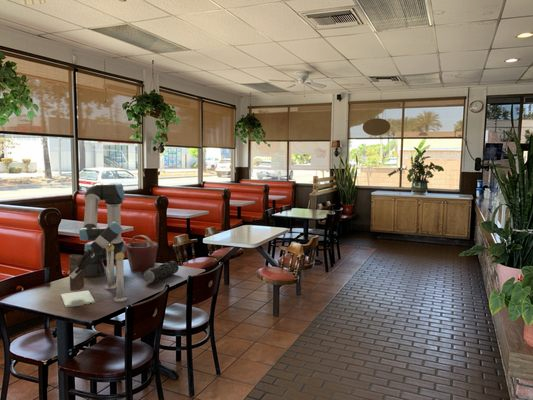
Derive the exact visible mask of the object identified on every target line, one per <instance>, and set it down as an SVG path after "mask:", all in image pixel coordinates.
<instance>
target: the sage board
mask: <svg viewBox="0 0 533 400" xmlns="http://www.w3.org/2000/svg"><path fill="white" fill-rule="evenodd" d="M60 297H61V300H62V303H63V305H64V308H72V307H77V306H84V304H86V305H91V304H90V303H92V304H96V300H95V299H94V298H93V297H94V296H92V294H91V292H90V291H89V290H83V291H82V290H79V291H72V292H67V293H61V294H60Z"/></svg>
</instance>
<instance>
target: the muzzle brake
mask: <svg viewBox="0 0 533 400" xmlns="http://www.w3.org/2000/svg"><path fill="white" fill-rule="evenodd" d="M178 271H179V264H178V262H176V261H175V260H170V261H168V262H164V263H162V264H160V265H157V266H154V268H150V269H148V270H146V271H145V272H143V274H142V275H143V281H144V282H145V283H147V284H156V283H158V282H159V281H160V280H163V279H166V278H170V277H171V276H174V275H175V274H176V273H177V272H178Z"/></svg>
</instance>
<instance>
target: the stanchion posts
mask: <svg viewBox="0 0 533 400" xmlns="http://www.w3.org/2000/svg"><path fill="white" fill-rule="evenodd" d="M106 251H107V259H106V277H107V279H106V281H107V284H105V285H104V289H105V290H108V291H111V290H112V291H113V290H116V296H114V298H113V301H114V303H123V302H126V301H127V300H128V297H127V295H125V281H124V279H125V278H124V276H125V275H124V274H125V273H124V272H125V270H124V259H125V254H123V253H122V252H118V253H116V255H115V260H114V246H113V245H112V244H109V246H107V247H106ZM114 263H115V264H114ZM115 271H116V273H115ZM115 274H116V275H115ZM115 278H116V280H115ZM115 281H116V283H115Z"/></svg>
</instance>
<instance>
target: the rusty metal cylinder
mask: <svg viewBox="0 0 533 400" xmlns="http://www.w3.org/2000/svg"><path fill="white" fill-rule="evenodd" d="M68 261H69V270H70V274H71V273H72V272H73V271H74V270H75V269H76V268H77V266H80V264H81V263H82V262H83V254H70V255H68ZM70 274H69V275H70ZM84 288H85V277H84V273H83V270H81V271H80V272H79V273H78V274H77V275H76V276H75V277H74V278H73V279H72V278H71V277H70V276H69V290H70V291H71V292H77V291H82V290H83V289H84Z"/></svg>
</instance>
